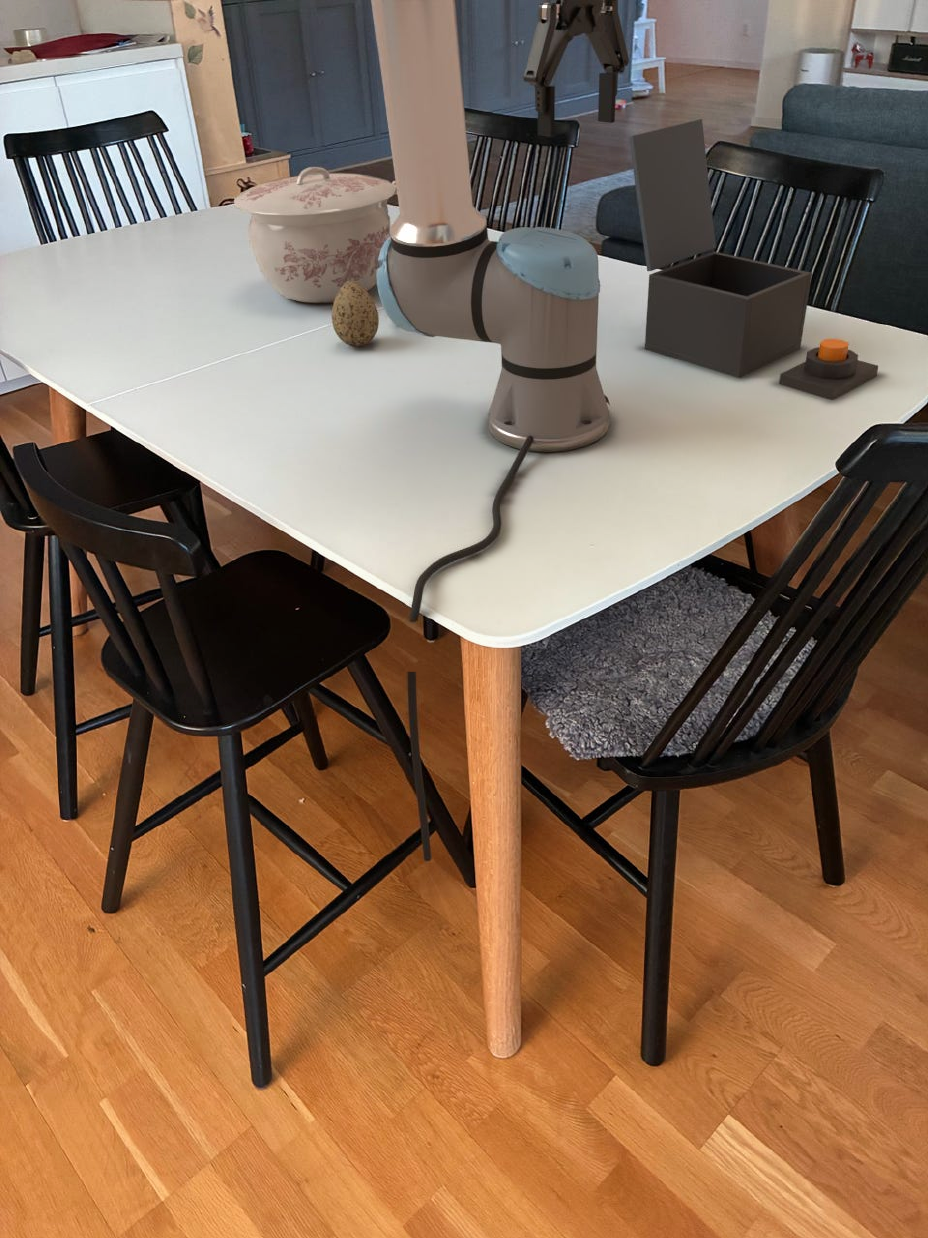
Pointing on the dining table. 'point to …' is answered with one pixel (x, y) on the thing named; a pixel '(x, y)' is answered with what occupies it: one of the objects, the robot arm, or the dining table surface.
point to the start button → (833, 350)
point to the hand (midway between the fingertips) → (576, 128)
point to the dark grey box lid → (673, 193)
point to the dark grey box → (726, 312)
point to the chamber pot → (318, 231)
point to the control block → (828, 375)
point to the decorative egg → (354, 315)
